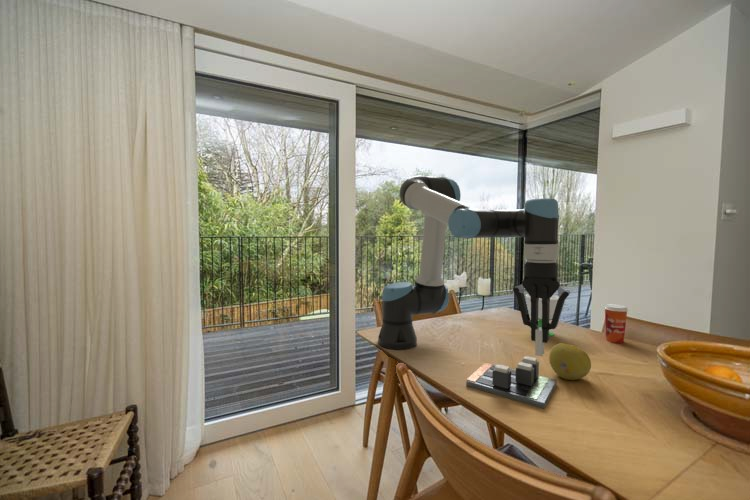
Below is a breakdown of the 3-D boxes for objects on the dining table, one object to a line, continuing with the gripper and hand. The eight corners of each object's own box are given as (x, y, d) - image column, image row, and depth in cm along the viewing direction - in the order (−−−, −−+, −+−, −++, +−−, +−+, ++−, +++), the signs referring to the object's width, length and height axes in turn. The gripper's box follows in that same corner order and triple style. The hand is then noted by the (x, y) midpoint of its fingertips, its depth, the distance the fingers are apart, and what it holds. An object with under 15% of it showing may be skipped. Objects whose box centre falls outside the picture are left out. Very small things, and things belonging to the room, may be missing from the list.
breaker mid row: (515, 382, 92) (515, 364, 92) (518, 378, 95) (519, 361, 94) (531, 386, 90) (531, 367, 89) (533, 382, 92) (534, 364, 92)
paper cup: (605, 342, 130) (607, 307, 129) (600, 336, 137) (601, 303, 136) (630, 345, 127) (631, 308, 126) (623, 339, 134) (625, 304, 133)
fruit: (590, 388, 92) (591, 353, 92) (547, 379, 98) (548, 346, 98) (590, 375, 101) (591, 342, 100) (550, 367, 107) (551, 336, 106)
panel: (465, 385, 95) (465, 379, 94) (485, 367, 107) (486, 362, 107) (543, 408, 82) (544, 402, 82) (556, 385, 95) (556, 379, 94)
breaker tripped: (492, 384, 91) (492, 366, 90) (496, 380, 93) (496, 363, 93) (507, 388, 88) (507, 370, 88) (511, 384, 91) (511, 366, 90)
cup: (561, 331, 144) (562, 295, 144) (559, 340, 133) (560, 300, 132) (527, 326, 152) (527, 292, 151) (522, 334, 140) (523, 297, 139)
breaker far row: (521, 375, 97) (521, 358, 96) (523, 371, 99) (524, 355, 99) (536, 378, 94) (536, 361, 94) (538, 375, 96) (538, 358, 96)
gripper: (509, 261, 84) (508, 353, 85) (568, 263, 76) (566, 364, 77) (517, 259, 90) (516, 345, 91) (573, 261, 82) (571, 355, 83)
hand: (539, 354), depth 84 cm, fingers closed
